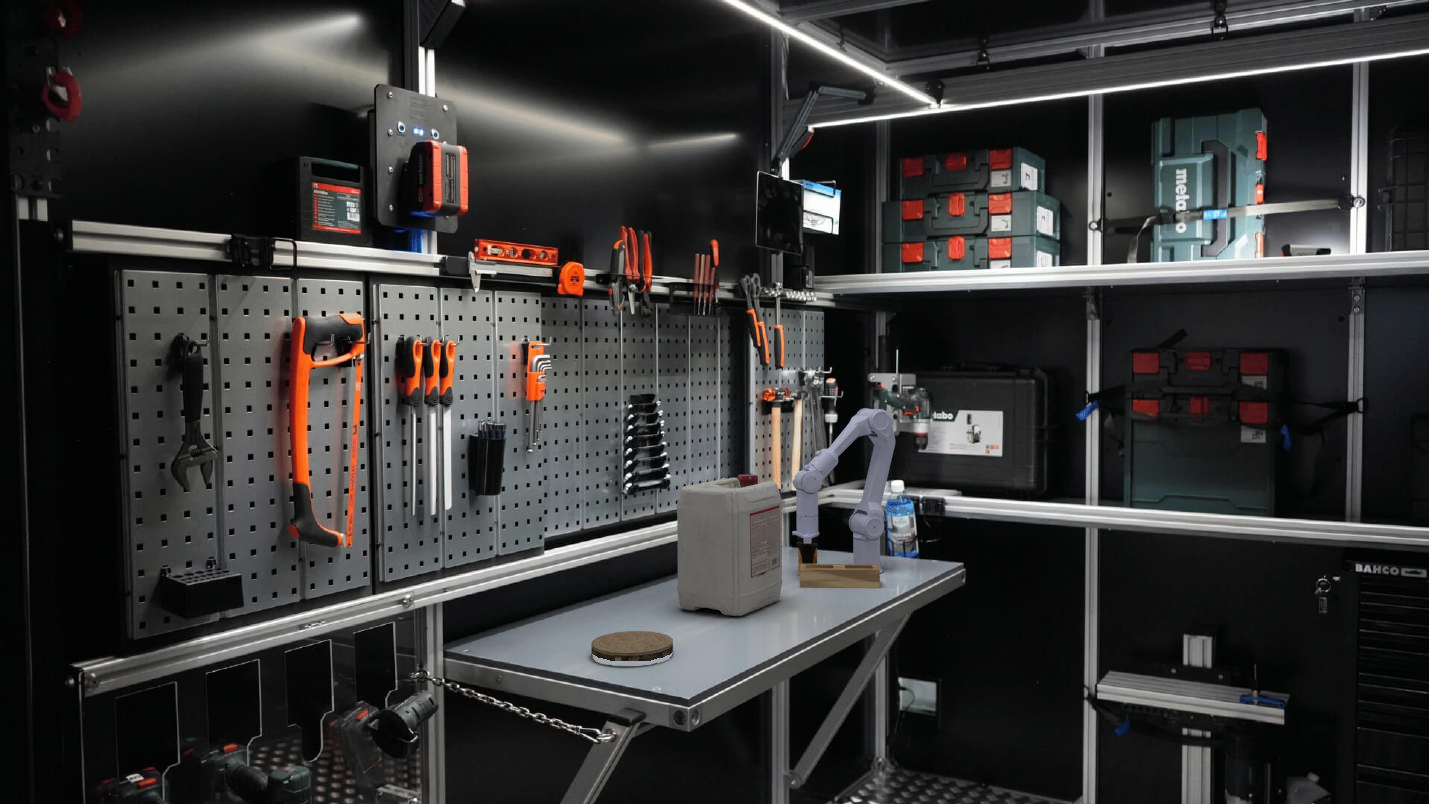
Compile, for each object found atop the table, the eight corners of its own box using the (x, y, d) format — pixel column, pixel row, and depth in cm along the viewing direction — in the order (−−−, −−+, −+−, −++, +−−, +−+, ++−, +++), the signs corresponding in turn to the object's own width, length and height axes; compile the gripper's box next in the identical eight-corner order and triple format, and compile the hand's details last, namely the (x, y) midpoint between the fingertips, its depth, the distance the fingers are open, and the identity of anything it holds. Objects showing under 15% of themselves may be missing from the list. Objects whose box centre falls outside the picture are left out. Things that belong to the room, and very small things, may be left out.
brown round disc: (690, 655, 197) (690, 639, 197) (631, 674, 185) (630, 658, 185) (634, 641, 208) (633, 626, 208) (574, 658, 196) (574, 643, 196)
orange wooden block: (798, 574, 272) (798, 548, 271) (817, 574, 271) (817, 548, 271) (798, 576, 269) (798, 550, 269) (817, 576, 269) (817, 550, 269)
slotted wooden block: (800, 580, 263) (800, 563, 263) (877, 581, 262) (877, 563, 261) (800, 587, 255) (799, 569, 255) (880, 587, 254) (879, 570, 254)
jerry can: (722, 591, 252) (720, 471, 251) (789, 599, 242) (788, 474, 242) (669, 611, 232) (667, 481, 231) (740, 621, 222) (738, 485, 221)
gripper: (792, 511, 277) (793, 560, 278) (791, 519, 263) (792, 571, 263) (818, 511, 277) (818, 561, 277) (819, 519, 262) (819, 571, 263)
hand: (807, 566), depth 270 cm, fingers open, 7 cm apart
